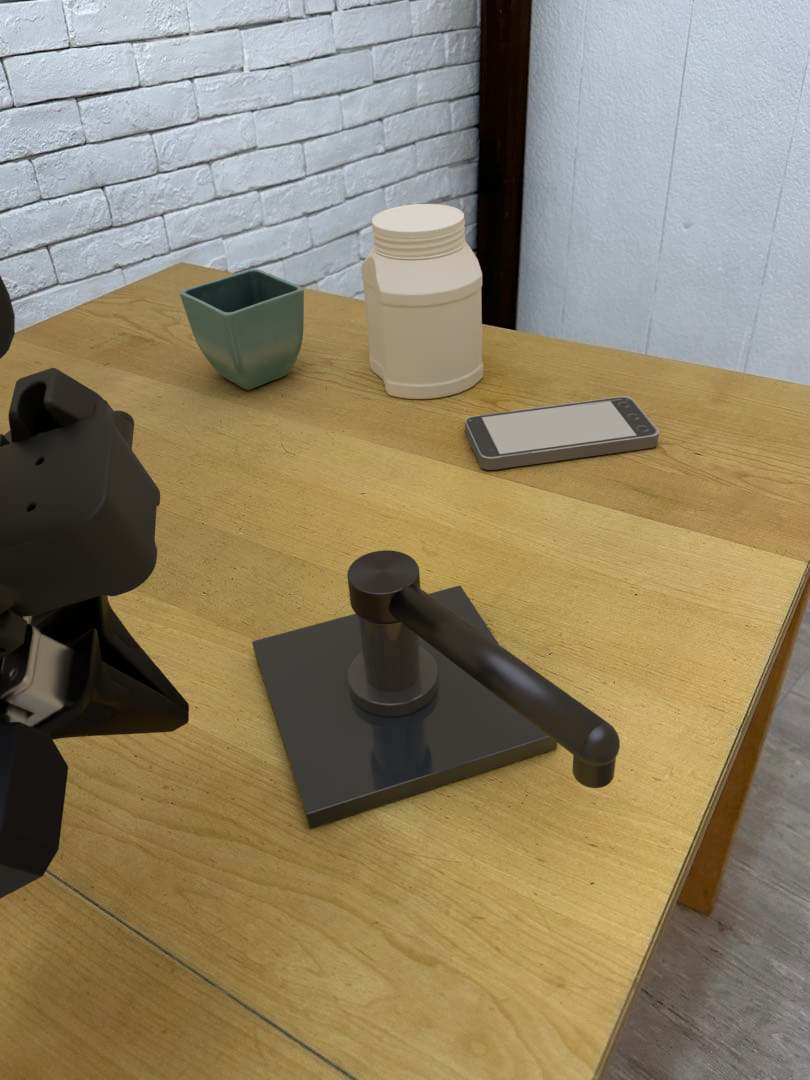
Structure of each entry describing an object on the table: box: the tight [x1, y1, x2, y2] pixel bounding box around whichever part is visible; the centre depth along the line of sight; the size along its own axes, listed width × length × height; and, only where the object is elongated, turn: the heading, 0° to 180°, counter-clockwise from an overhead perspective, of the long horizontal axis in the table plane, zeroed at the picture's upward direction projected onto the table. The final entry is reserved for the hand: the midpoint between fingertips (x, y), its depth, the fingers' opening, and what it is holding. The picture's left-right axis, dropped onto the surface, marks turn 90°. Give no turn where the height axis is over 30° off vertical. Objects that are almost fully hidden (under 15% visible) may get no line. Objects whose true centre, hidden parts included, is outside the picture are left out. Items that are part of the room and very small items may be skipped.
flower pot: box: [178, 268, 305, 391], centre depth 88 cm, size 9×9×9 cm
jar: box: [360, 203, 484, 400], centre depth 84 cm, size 12×10×15 cm
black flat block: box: [251, 585, 558, 829], centre depth 51 cm, size 14×14×7 cm
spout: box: [346, 549, 621, 789], centre depth 44 cm, size 18×4×3 cm, turn 39°
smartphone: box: [464, 395, 660, 471], centre depth 76 cm, size 7×1×15 cm
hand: (181, 719), depth 37 cm, fingers closed
